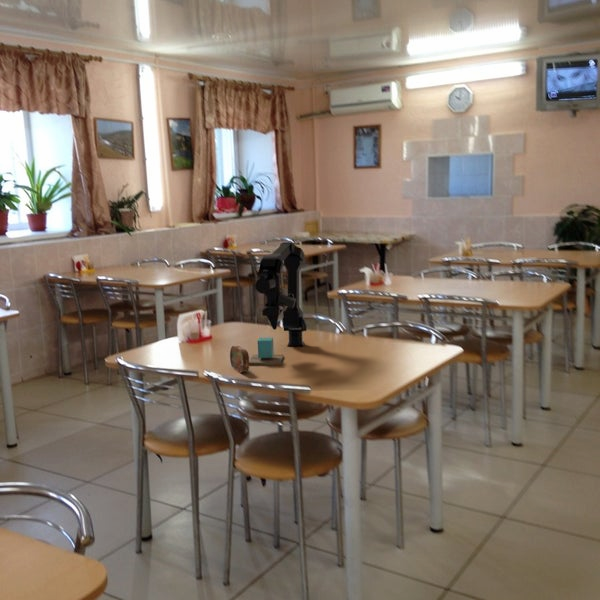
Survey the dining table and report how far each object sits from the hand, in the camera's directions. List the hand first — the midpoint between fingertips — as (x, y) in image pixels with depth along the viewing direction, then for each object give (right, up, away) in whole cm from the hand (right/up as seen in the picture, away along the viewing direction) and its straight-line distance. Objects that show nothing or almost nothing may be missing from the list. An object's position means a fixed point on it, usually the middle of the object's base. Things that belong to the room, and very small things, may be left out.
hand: (274, 329), depth 267 cm
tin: (-12, -15, -12) cm, 23 cm away
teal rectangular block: (-3, -10, -1) cm, 11 cm away
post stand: (-3, -12, -1) cm, 13 cm away
